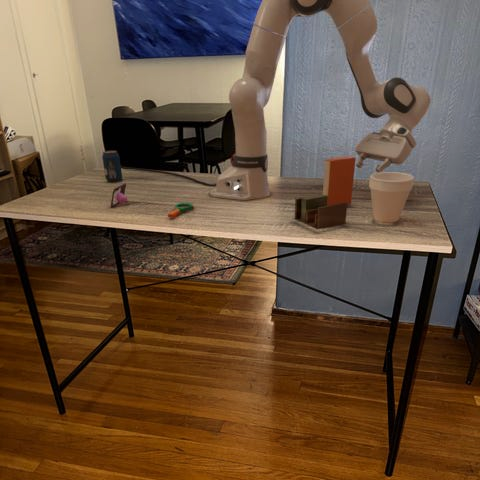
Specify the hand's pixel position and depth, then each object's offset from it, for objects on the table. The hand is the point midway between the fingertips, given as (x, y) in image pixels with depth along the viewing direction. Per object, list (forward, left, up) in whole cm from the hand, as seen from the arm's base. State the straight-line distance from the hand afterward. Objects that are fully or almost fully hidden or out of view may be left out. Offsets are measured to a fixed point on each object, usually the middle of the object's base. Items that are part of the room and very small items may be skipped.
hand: (367, 168), depth 152 cm
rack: (-11, -27, -11) cm, 32 cm away
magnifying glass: (-58, -27, -11) cm, 64 cm away
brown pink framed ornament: (-82, -22, -12) cm, 86 cm away
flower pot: (+8, -20, -12) cm, 25 cm away
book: (-8, -9, -11) cm, 17 cm away
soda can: (-105, +10, -12) cm, 107 cm away
